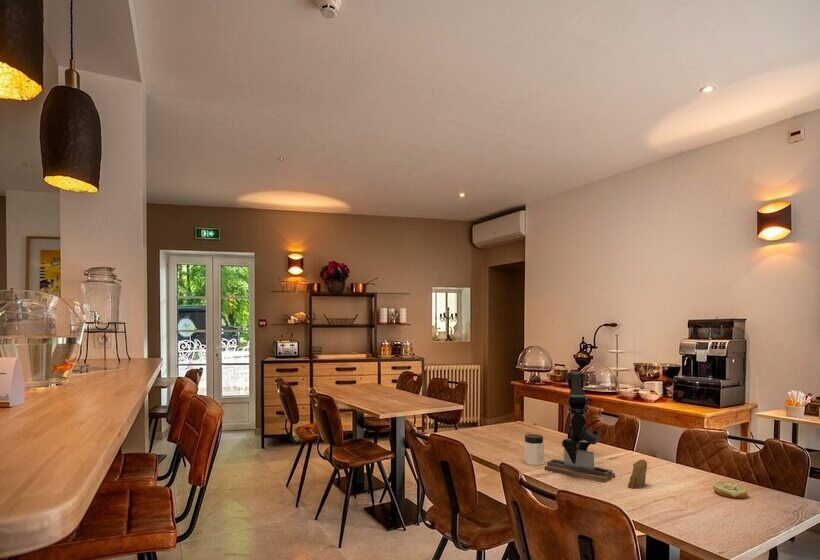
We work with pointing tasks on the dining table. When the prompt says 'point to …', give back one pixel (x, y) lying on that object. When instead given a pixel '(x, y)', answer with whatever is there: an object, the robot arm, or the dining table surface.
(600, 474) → the track board
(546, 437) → the dining table surface
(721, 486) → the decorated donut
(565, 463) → the door panel
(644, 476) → the rock
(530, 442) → the jar
